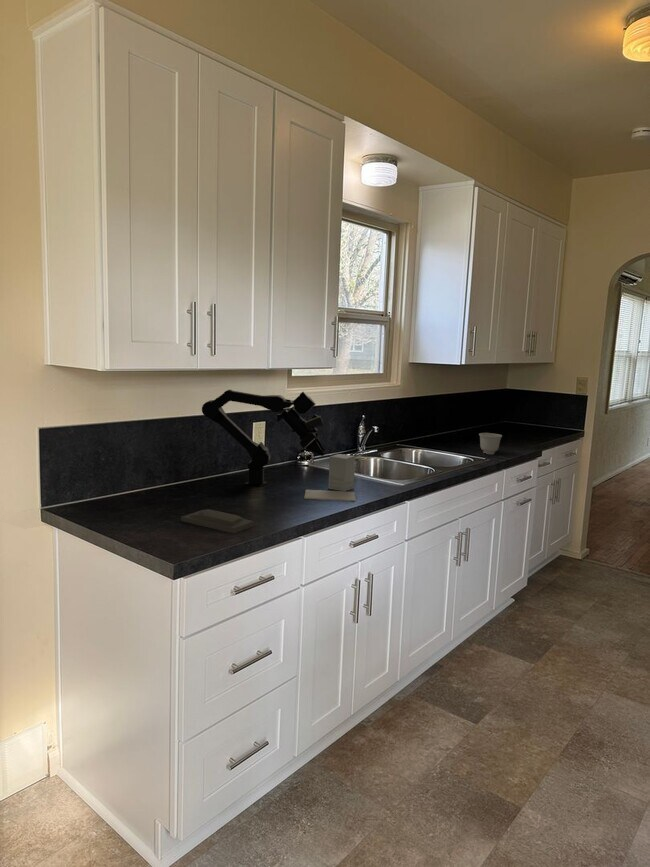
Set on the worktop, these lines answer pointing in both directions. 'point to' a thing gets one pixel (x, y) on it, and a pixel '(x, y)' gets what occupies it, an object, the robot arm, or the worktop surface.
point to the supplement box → (341, 472)
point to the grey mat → (329, 495)
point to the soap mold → (218, 520)
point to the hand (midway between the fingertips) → (323, 453)
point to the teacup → (489, 442)
